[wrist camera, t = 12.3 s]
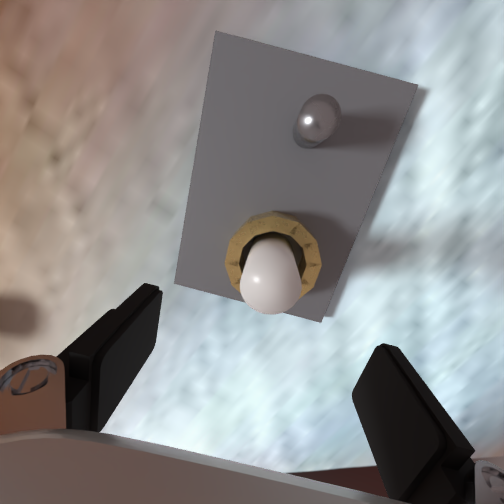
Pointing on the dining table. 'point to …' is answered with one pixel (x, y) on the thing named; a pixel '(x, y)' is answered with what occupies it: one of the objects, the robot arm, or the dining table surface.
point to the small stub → (316, 120)
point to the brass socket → (281, 224)
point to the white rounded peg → (270, 275)
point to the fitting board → (284, 160)
